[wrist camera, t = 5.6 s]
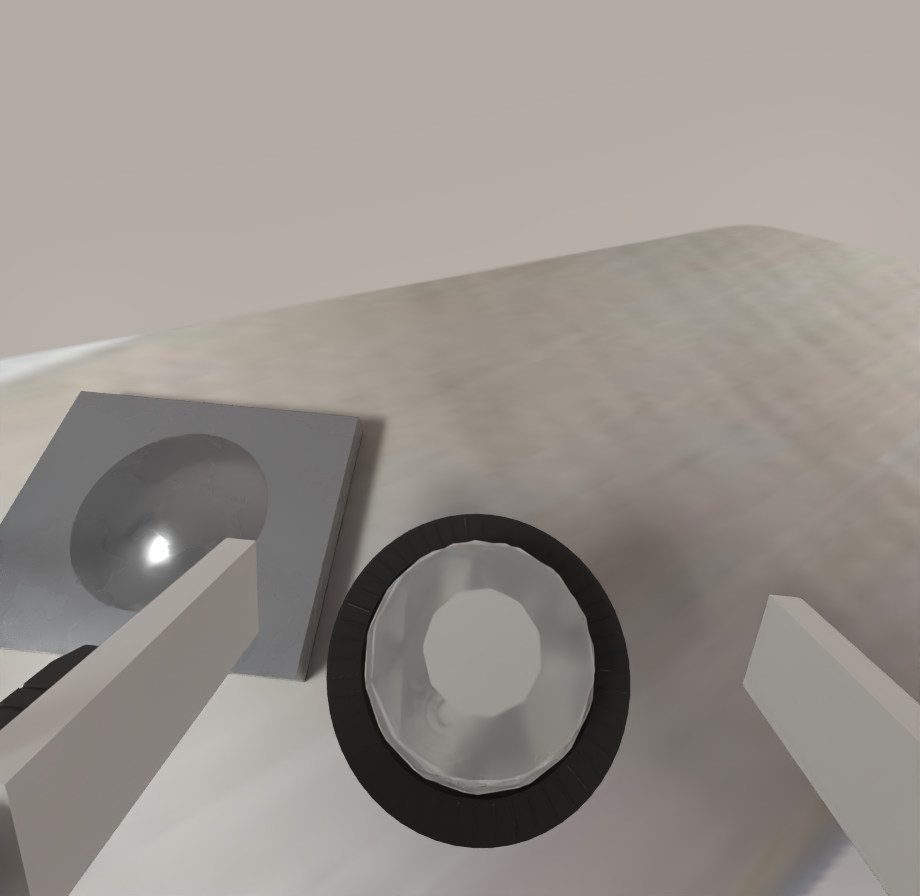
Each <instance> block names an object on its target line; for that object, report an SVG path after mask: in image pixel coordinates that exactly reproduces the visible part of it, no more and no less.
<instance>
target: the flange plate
mask: <svg viewBox="0 0 920 896" xmlns="http://www.w3.org/2000/svg"><path fill="white" fill-rule="evenodd" d="M361 436H362V429H361V426H360V422H359V419H358V417H348V416H338V415H327V414H317V413H306V412H296V411H285V410H275V409H264V408H254V407H243V406H233V405H222V404H211V403H201V402H190V401H180V400H169V399H159V398H148V397H138V396H127V395H117V394H106V393H96V392H85V391H81V392H80V393H79V395H78V397H77V398H76V400H75V402H74V403H73V405H72V407H71V408H70V410H69V412H68V413H67V415H66V417H65V418H64V420H63V422H62V423H61V425H60V427H59V428H58V430H57V432H56V433H55V435H54V436H53V438H52V440H51V441H50V443H49V445H48V446H47V448H46V450H45V451H44V453H43V455H42V456H41V458H40V460H39V461H38V463H37V465H36V466H35V468H34V470H33V471H32V473H31V475H30V476H29V478H28V480H27V481H26V483H25V485H24V486H23V488H22V490H21V491H20V493H19V495H18V496H17V498H16V500H15V501H14V503H13V505H12V506H11V508H10V510H9V511H8V513H7V514H6V516H5V518H4V519H3V521H2V523H1V524H0V648H1V649H10V650H19V651H28V652H37V653H46V654H55V655H66V654H67V653H69V652H71V651H73V650H75V649H77V648H79V647H81V646H83V645H85V644H87V645H96V646H100V645H101V644H102V643H104V642H105V641H106V640H107V639H108V638H109V637H111V636H112V635H113V634H114V633H115V632H116V631H118V630H119V629H120V628H121V627H122V626H124V625H125V624H126V623H127V622H128V621H129V620H131V619H132V618H133V617H134V616H135V615H136V614H138V613H139V612H140V611H141V610H142V609H143V608H145V607H146V606H147V605H148V604H149V603H151V602H152V601H153V600H154V599H155V598H156V597H158V596H159V595H160V594H161V593H162V592H163V591H165V590H166V589H167V588H168V587H169V586H171V585H172V584H173V583H174V582H175V581H176V580H178V579H179V578H180V577H181V576H182V575H183V574H185V573H186V572H187V571H188V570H189V569H190V568H192V567H193V566H194V565H195V564H196V563H198V562H199V561H200V560H201V559H202V558H203V557H205V556H206V555H207V554H208V553H209V552H210V551H212V550H213V549H214V548H215V547H216V546H218V545H219V544H220V543H221V542H222V541H223V540H225V539H226V538H235V539H245V540H254V541H256V563H257V592H258V621H259V632H258V633H257V635H256V636H255V638H254V639H253V640H252V642H251V643H250V645H249V646H248V647H247V649H246V650H245V651H244V653H243V654H242V656H241V657H240V658H239V660H238V661H237V663H236V664H235V665H234V667H233V668H232V669H231V671H230V672H229V674H237V675H246V676H255V677H264V678H273V679H282V680H291V681H300V682H305V678H306V674H307V670H308V665H309V661H310V657H311V652H312V648H313V644H314V639H315V635H316V631H317V626H318V622H319V618H320V613H321V609H322V605H323V600H324V596H325V592H326V588H327V583H328V579H329V575H330V570H331V566H332V562H333V557H334V553H335V549H336V544H337V540H338V536H339V531H340V527H341V523H342V518H343V514H344V510H345V505H346V501H347V497H348V492H349V488H350V484H351V480H352V475H353V471H354V467H355V462H356V458H357V454H358V449H359V445H360V441H361Z"/></svg>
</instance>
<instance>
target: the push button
mask: <svg viewBox="0 0 920 896" xmlns="http://www.w3.org/2000/svg"><path fill="white" fill-rule="evenodd" d="M327 696H328V703H329V709H330V715H331V719H332V723H333V727H334V731H335V734H336V737H337V739H338V742H339V745H340V747H341V750H342V752H343V754H344V756H345V758H346V760H347V762H348V764H349V766H350V768H351V770H352V771H353V773H354V774H355V776H356V777H357V779H358V781H359V782H360V784H361V785H362V786H363V787H364V789H365V790H366V791H367V792H368V793H369V795H370V796H371V797H372V798H373V799H374V800H375V801H376V802H377V803H378V804H379V805H380V806H381V807H382V808H383V809H384V810H385V811H386V812H387V813H389V814H390V815H391V816H392V817H394V818H395V819H396V820H398V821H399V822H400V823H402V824H403V825H405V826H407V827H409V828H410V829H412V830H414V831H416V832H417V833H419V834H422V835H424V836H426V837H429V838H431V839H434V840H436V841H440V842H443V843H447V844H451V845H454V846H462V847H470V848H494V847H501V846H508V845H513V844H516V843H520V842H523V841H527V840H530V839H532V838H534V837H536V836H539V835H541V834H543V833H545V832H547V831H549V830H551V829H552V828H554V827H555V826H557V825H559V824H560V823H562V822H563V821H565V820H566V819H567V818H568V817H570V816H571V815H572V814H573V813H574V812H576V811H577V810H578V809H579V808H580V807H581V806H582V805H583V804H584V803H585V802H586V801H587V800H588V799H589V798H590V796H591V795H592V794H593V792H594V791H595V790H596V788H597V787H598V786H599V784H600V783H601V782H602V780H603V778H604V777H605V775H606V773H607V772H608V770H609V768H610V767H611V764H612V762H613V760H614V758H615V756H616V753H617V751H618V749H619V746H620V743H621V740H622V736H623V733H624V730H625V725H626V720H627V716H628V709H629V699H630V670H629V659H628V654H627V648H626V643H625V639H624V636H623V632H622V629H621V626H620V623H619V620H618V618H617V615H616V613H615V610H614V608H613V606H612V604H611V602H610V600H609V598H608V596H607V594H606V593H605V591H604V590H603V588H602V586H601V585H600V583H599V582H598V580H597V579H596V578H595V576H594V575H593V574H592V572H591V571H590V570H589V569H588V568H587V566H586V565H585V564H584V563H583V562H582V561H581V560H580V559H579V558H578V557H577V556H576V555H575V554H574V553H573V552H572V551H570V550H569V549H568V548H567V547H566V546H564V545H563V544H562V543H560V542H559V541H558V540H556V539H555V538H553V537H551V536H550V535H548V534H547V533H545V532H543V531H541V530H539V529H537V528H535V527H533V526H531V525H528V524H526V523H523V522H520V521H517V520H514V519H510V518H506V517H501V516H495V515H486V514H464V515H456V516H449V517H445V518H441V519H437V520H434V521H431V522H428V523H425V524H422V525H420V526H418V527H416V528H414V529H412V530H410V531H408V532H406V533H405V534H403V535H401V536H400V537H398V538H397V539H395V540H394V541H393V542H391V543H390V544H389V545H387V546H386V547H385V548H384V549H383V550H381V551H380V552H379V553H378V554H377V555H376V556H375V557H374V558H373V559H372V560H371V561H370V562H369V564H368V565H367V566H366V567H365V568H364V569H363V571H362V572H361V573H360V575H359V576H358V578H357V579H356V580H355V582H354V583H353V585H352V587H351V588H350V590H349V592H348V594H347V595H346V597H345V600H344V602H343V604H342V606H341V608H340V611H339V613H338V616H337V619H336V622H335V625H334V628H333V632H332V636H331V640H330V646H329V653H328V659H327Z"/></svg>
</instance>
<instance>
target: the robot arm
mask: <svg viewBox="0 0 920 896" xmlns="http://www.w3.org/2000/svg"><path fill="white" fill-rule="evenodd" d="M258 632H259V621H258V592H257V563H256V541H254V540H245V539H235V538H226V539H225V540H223V541H222V542H221V543H220V544H219V545H218V546H216V547H215V548H214V549H213V550H212V551H210V552H209V553H208V554H207V555H206V556H205V557H203V558H202V559H201V560H200V561H199V562H198V563H196V564H195V565H194V566H193V567H192V568H190V569H189V570H188V571H187V572H186V573H185V574H183V575H182V576H181V577H180V578H179V579H178V580H176V581H175V582H174V583H173V584H172V585H171V586H169V587H168V588H167V589H166V590H165V591H163V592H162V593H161V594H160V595H159V596H158V597H156V598H155V599H154V600H153V601H152V602H151V603H149V604H148V605H147V606H146V607H145V608H143V609H142V610H141V611H140V612H139V613H138V614H136V615H135V616H134V617H133V618H132V619H131V620H129V621H128V622H127V623H126V624H125V625H124V626H122V627H121V628H120V629H119V630H118V631H116V632H115V633H114V634H113V635H112V636H111V637H109V638H108V639H107V640H106V641H105V642H104V643H102V644H101V645H100V646H96V645H87V644H85V645H83V646H81V647H79V648H77V649H75V650H73V651H71V652H69V653H67V654H66V655H64V656H62V657H60V658H58V659H56V660H54V661H52V662H51V663H49V664H48V665H47V666H46V667H44V668H43V669H42V670H41V671H39V672H38V673H37V674H35V675H34V676H33V677H32V678H30V679H29V680H28V681H27V682H25V683H24V686H23V687H22V688H18V689H17V690H15V691H14V692H13V693H12V694H10V695H9V696H8V697H7V698H5V699H4V700H3V701H1V702H0V896H68V895H69V894H70V892H71V891H72V890H73V888H74V887H75V885H76V884H77V883H78V881H79V880H80V878H81V877H82V876H83V874H84V873H85V872H86V870H87V869H88V867H89V866H90V865H91V863H92V862H93V860H94V859H95V858H96V856H97V855H98V854H99V852H100V851H101V849H102V848H103V847H104V845H105V844H106V842H107V841H108V840H109V838H110V837H111V836H112V834H113V833H114V831H115V830H116V829H117V827H118V826H119V824H120V823H121V822H122V820H123V819H124V818H125V816H126V815H127V813H128V812H129V811H130V809H131V808H132V806H133V805H134V804H135V802H136V801H137V800H138V798H139V797H140V795H141V794H142V793H143V791H144V790H145V788H146V787H147V786H148V784H149V783H150V782H151V780H152V779H153V777H154V776H155V775H156V773H157V772H158V770H159V769H160V768H161V766H162V765H163V764H164V762H165V761H166V759H167V758H168V757H169V755H170V754H171V753H172V751H173V750H174V748H175V747H176V746H177V744H178V743H179V741H180V740H181V739H182V737H183V736H184V735H185V733H186V732H187V730H188V729H189V728H190V726H191V725H192V723H193V722H194V721H195V719H196V718H197V717H198V715H199V714H200V712H201V711H202V710H203V708H204V707H205V705H206V704H207V703H208V701H209V700H210V699H211V697H212V696H213V694H214V693H215V692H216V690H217V689H218V687H219V686H220V685H221V683H222V682H223V681H224V679H225V678H226V676H227V675H228V674H229V672H230V671H231V669H232V668H233V667H234V665H235V664H236V663H237V661H238V660H239V658H240V657H241V656H242V654H243V653H244V651H245V650H246V649H247V647H248V646H249V645H250V643H251V642H252V640H253V639H254V638H255V636H256V635H257V633H258ZM742 685H743V687H744V688H745V689H746V691H747V692H748V694H749V695H750V697H751V698H752V699H753V701H754V702H755V704H756V705H757V707H758V708H759V710H760V711H761V712H762V714H763V715H764V717H765V718H766V720H767V721H768V722H769V724H770V725H771V727H772V728H773V730H774V731H775V733H776V734H777V735H778V737H779V738H780V740H781V741H782V743H783V744H784V746H785V747H786V748H787V750H788V751H789V753H790V754H791V756H792V757H793V758H794V760H795V761H796V763H797V764H798V766H799V767H800V769H801V770H802V771H803V773H804V774H805V776H806V777H807V779H808V780H809V781H810V783H811V784H812V786H813V787H814V789H815V790H816V792H817V793H818V794H819V796H820V797H821V799H822V800H823V802H824V803H825V805H826V806H827V807H828V809H829V810H830V812H831V813H832V815H833V816H834V817H835V819H836V820H837V822H838V823H839V825H840V826H841V828H842V829H843V830H844V832H845V833H846V835H847V836H848V838H849V839H850V840H851V842H852V843H853V845H854V846H855V848H856V849H857V851H858V852H859V853H860V855H861V856H862V858H863V859H864V861H865V862H866V864H867V865H868V866H869V868H870V869H871V870H872V872H873V874H874V875H875V876H876V878H877V879H878V881H879V882H880V884H881V885H882V887H883V888H884V889H885V891H886V892H887V894H888V895H889V896H920V704H919V703H918V702H917V701H915V700H914V699H913V698H912V697H911V696H910V695H909V694H908V693H906V692H905V691H904V690H903V689H902V688H901V687H900V686H899V685H898V684H896V683H895V682H894V681H893V680H892V679H891V678H890V677H889V676H887V675H886V674H885V673H884V672H883V671H882V670H881V669H880V668H879V667H877V666H876V665H875V664H874V663H873V662H872V661H871V660H870V659H868V658H867V657H866V656H865V655H864V654H863V653H862V652H861V651H860V650H858V649H857V648H856V647H855V646H854V645H853V644H852V643H851V642H849V641H848V640H847V639H846V638H845V637H844V636H843V635H842V634H841V633H839V632H838V631H837V630H836V629H835V628H834V627H833V626H832V625H831V624H829V623H828V622H827V621H826V620H825V619H824V618H823V617H822V616H820V615H819V614H818V613H817V612H816V611H815V610H814V609H813V608H812V607H810V606H809V605H808V604H807V603H806V602H805V601H804V600H803V599H801V598H799V597H789V596H780V595H769V598H768V601H767V605H766V608H765V611H764V615H763V618H762V621H761V625H760V628H759V631H758V635H757V638H756V641H755V645H754V648H753V651H752V654H751V658H750V661H749V664H748V668H747V671H746V674H745V678H744V681H743V684H742Z"/></svg>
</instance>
